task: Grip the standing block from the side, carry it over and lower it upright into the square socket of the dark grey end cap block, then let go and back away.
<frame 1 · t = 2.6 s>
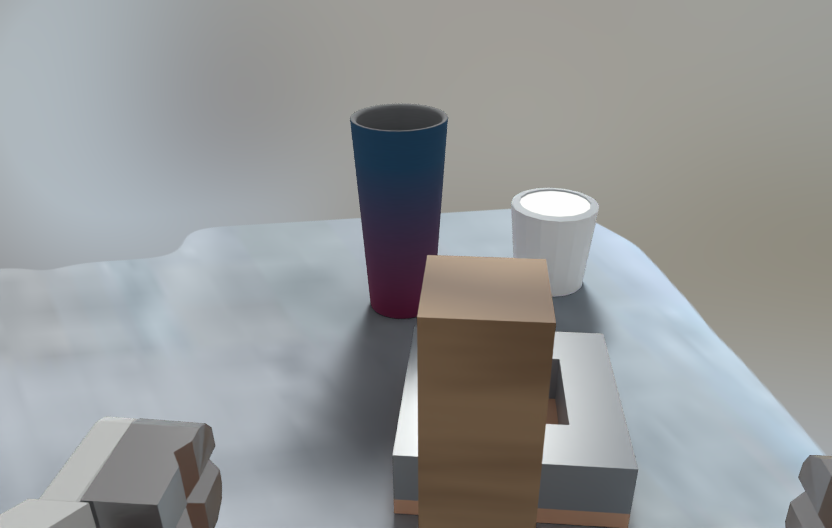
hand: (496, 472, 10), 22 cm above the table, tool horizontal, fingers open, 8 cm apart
end cap: (506, 441, 42), on the table
cup: (402, 304, 57), on the table
shot glass: (547, 281, 60), on the table
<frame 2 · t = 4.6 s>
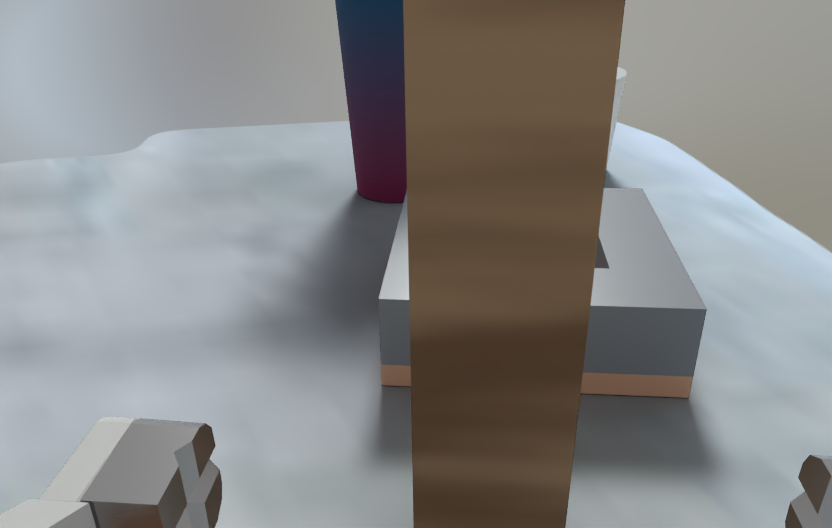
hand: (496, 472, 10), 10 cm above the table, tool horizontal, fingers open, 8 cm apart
end cap: (525, 312, 34), on the table
cup: (395, 191, 48), on the table
shot glass: (565, 171, 51), on the table
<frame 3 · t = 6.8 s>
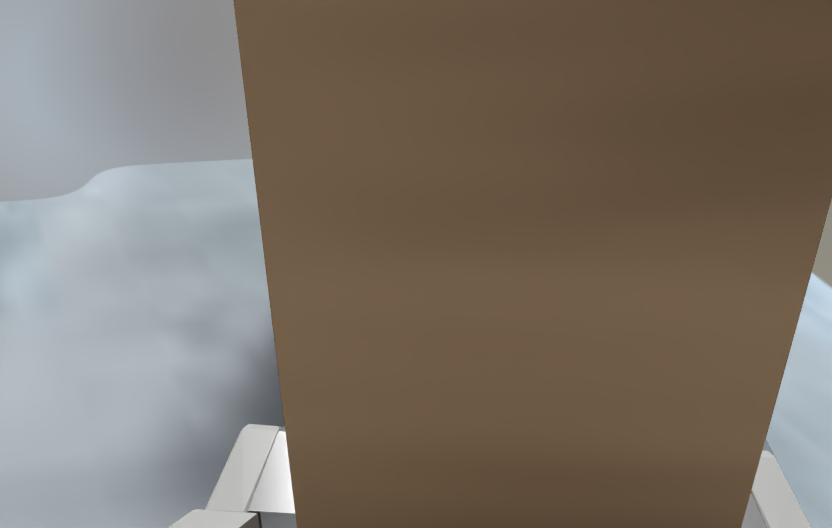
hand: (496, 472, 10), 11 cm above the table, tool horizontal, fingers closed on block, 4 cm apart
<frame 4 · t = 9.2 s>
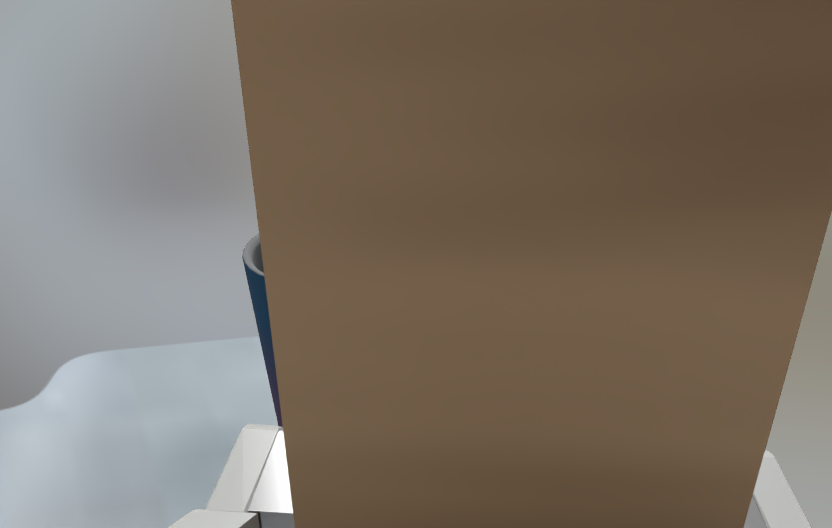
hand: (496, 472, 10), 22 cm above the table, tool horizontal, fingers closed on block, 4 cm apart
cup: (342, 499, 39), on the table
when the fingers open (12 cm above the table, at t = 11.5 s): block stays where it is, resting on end cap.
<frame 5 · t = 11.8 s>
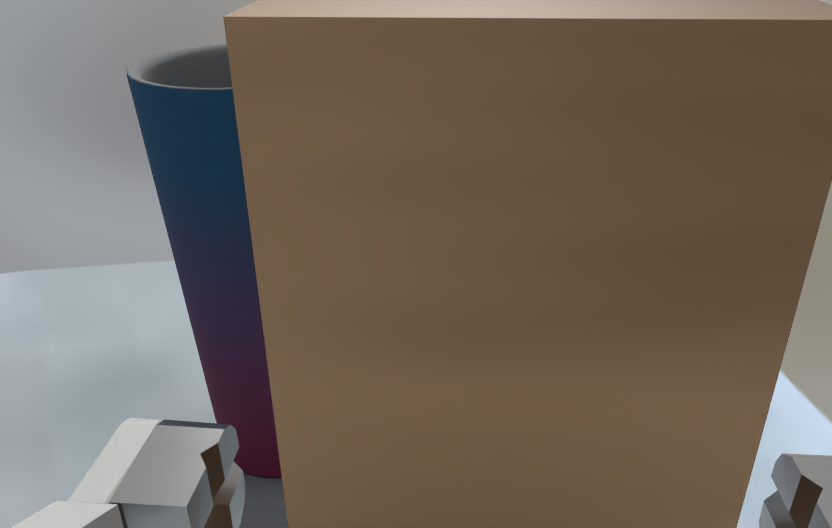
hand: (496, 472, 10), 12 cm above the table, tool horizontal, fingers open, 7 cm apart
cup: (286, 437, 30), on the table
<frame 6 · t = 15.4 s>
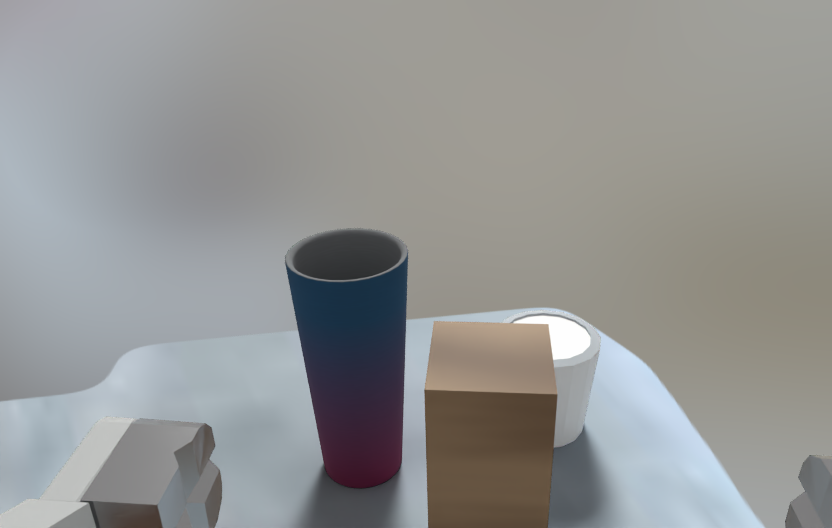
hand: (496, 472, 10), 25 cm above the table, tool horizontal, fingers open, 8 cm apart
cup: (363, 462, 47), on the table
shot glass: (541, 423, 50), on the table
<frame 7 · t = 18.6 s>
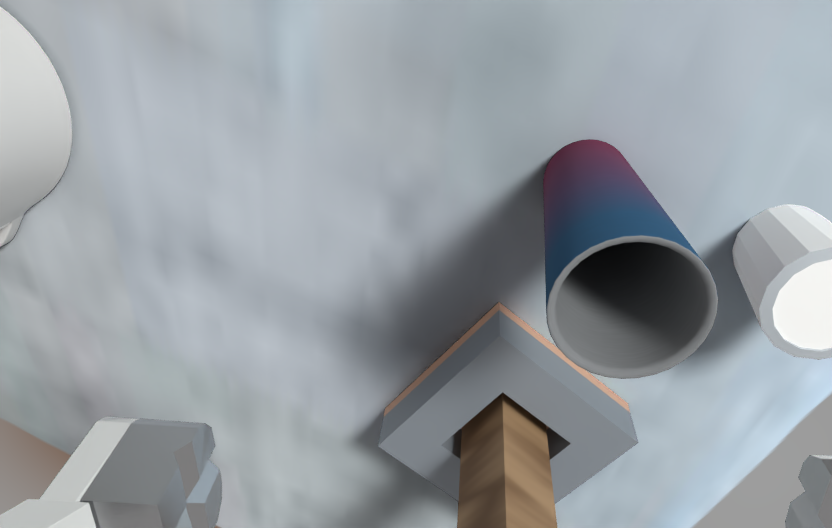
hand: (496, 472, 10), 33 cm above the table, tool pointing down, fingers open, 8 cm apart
end cap: (503, 405, 51), on the table
block: (503, 414, 50), point 1 cm above the table, touching end cap
cup: (585, 178, 43), on the table
shot glass: (779, 245, 44), on the table
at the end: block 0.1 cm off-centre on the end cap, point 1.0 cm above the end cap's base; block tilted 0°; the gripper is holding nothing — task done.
